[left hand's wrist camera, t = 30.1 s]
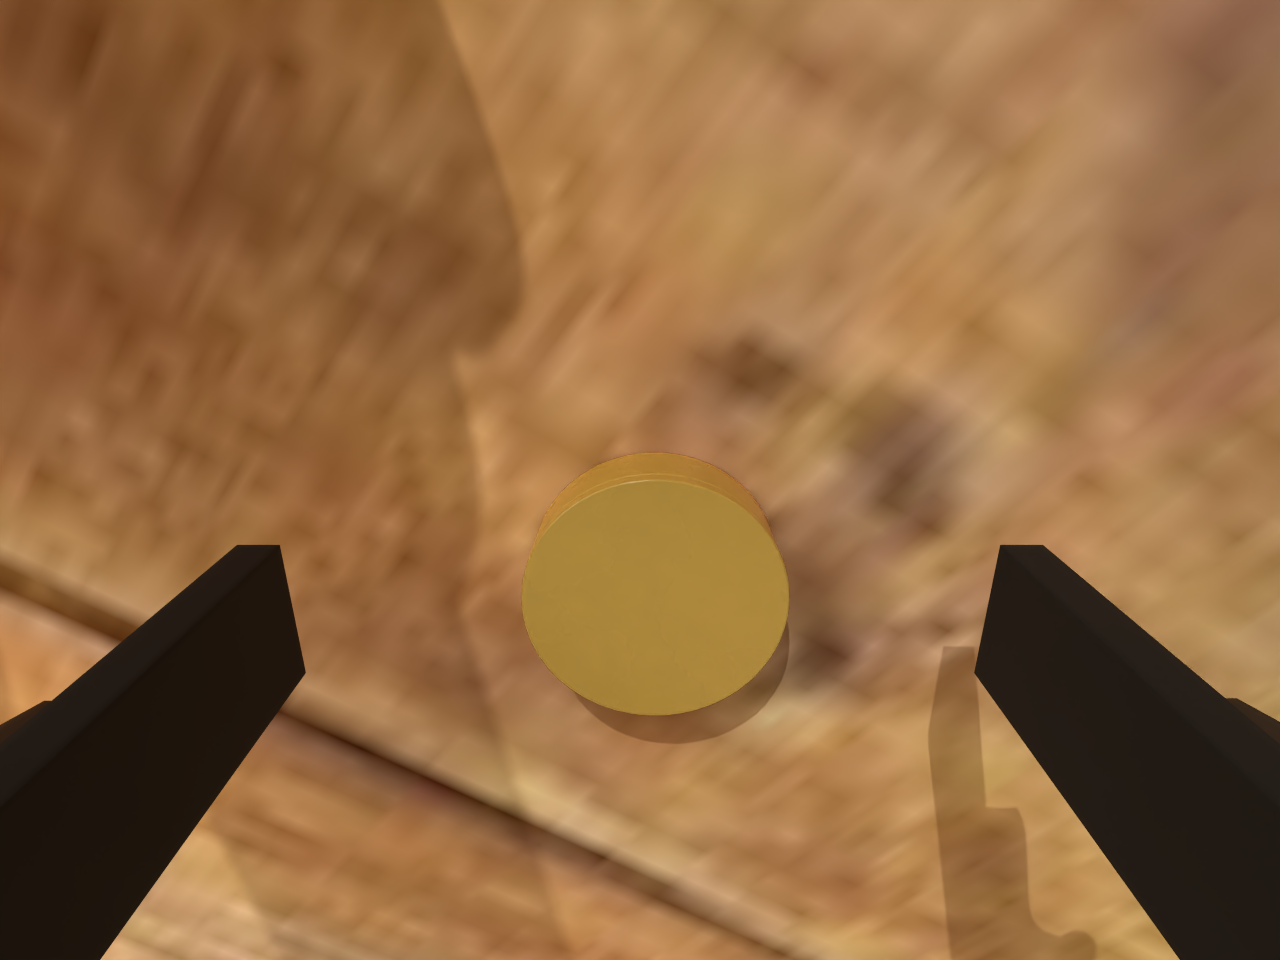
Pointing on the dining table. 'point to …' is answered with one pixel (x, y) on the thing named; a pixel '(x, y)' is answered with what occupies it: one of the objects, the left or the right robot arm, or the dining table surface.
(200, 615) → the left robot arm
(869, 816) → the dining table surface
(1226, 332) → the dining table surface
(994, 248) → the dining table surface
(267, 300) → the dining table surface
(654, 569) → the lid
